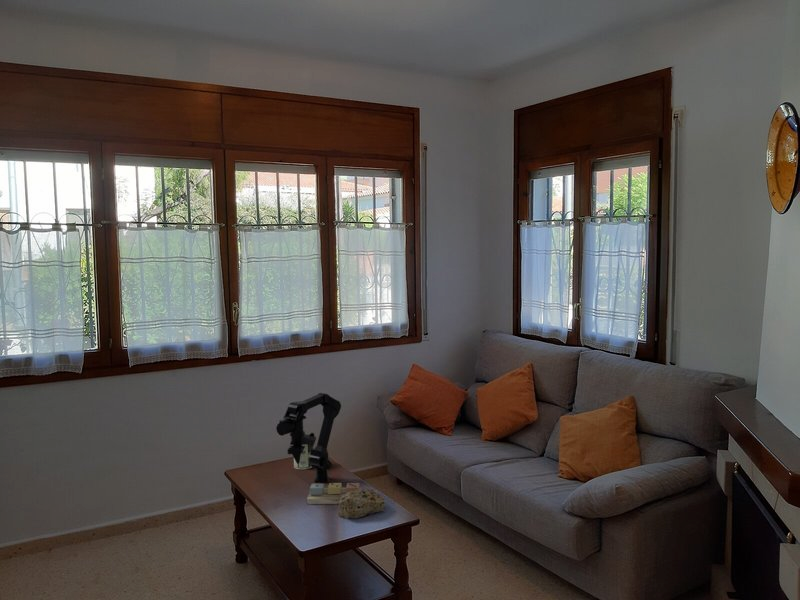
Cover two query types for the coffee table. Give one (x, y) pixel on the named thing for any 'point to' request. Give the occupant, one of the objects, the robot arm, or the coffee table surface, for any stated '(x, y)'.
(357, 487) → the pink cube
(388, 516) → the coffee table surface
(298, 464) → the coffee can
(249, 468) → the coffee table surface
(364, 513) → the rock
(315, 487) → the blue-grey cube
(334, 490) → the yellow cube
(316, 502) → the keypad board
